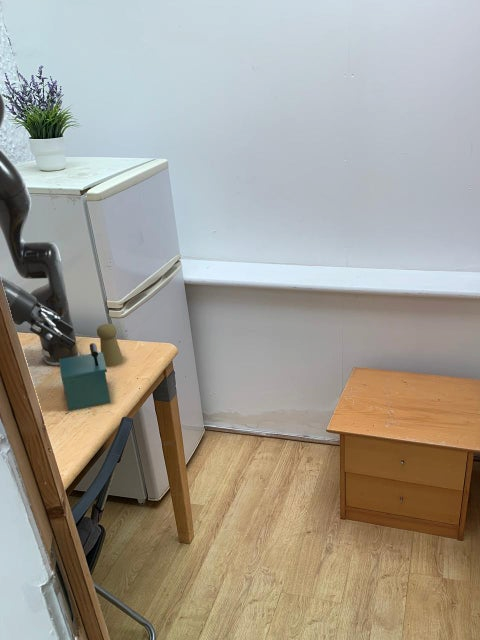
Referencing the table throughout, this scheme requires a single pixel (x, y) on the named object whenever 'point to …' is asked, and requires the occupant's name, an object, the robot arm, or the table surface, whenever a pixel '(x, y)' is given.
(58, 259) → the robot arm
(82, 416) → the table surface
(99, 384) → the teal square box
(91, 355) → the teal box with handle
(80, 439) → the table surface
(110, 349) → the olive pepper mill
